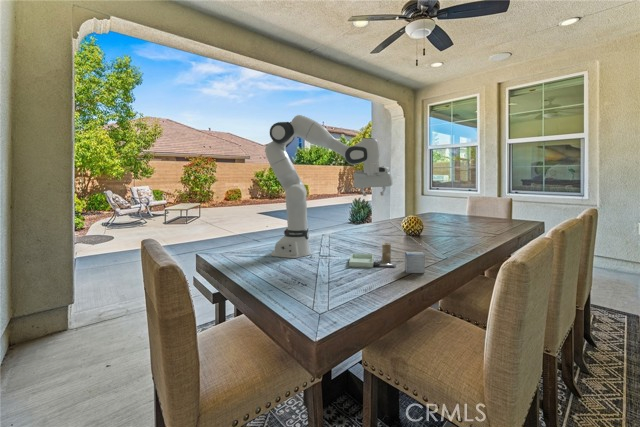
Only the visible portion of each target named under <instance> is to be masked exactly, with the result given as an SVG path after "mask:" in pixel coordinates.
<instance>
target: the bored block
mask: <svg viewBox="0 0 640 427" xmlns="http://www.w3.org/2000/svg"><path fill="white" fill-rule="evenodd" d="M391 247H392V245H391V242H382V247H381V248H382V249H381V250H382V251H381V252H382V254H381V260H382V263H386V264H392V263H391V262H392V261H391V260H392V259H391V257H392V254H391V252H392V251H391V250H392V248H391Z"/></svg>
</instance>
